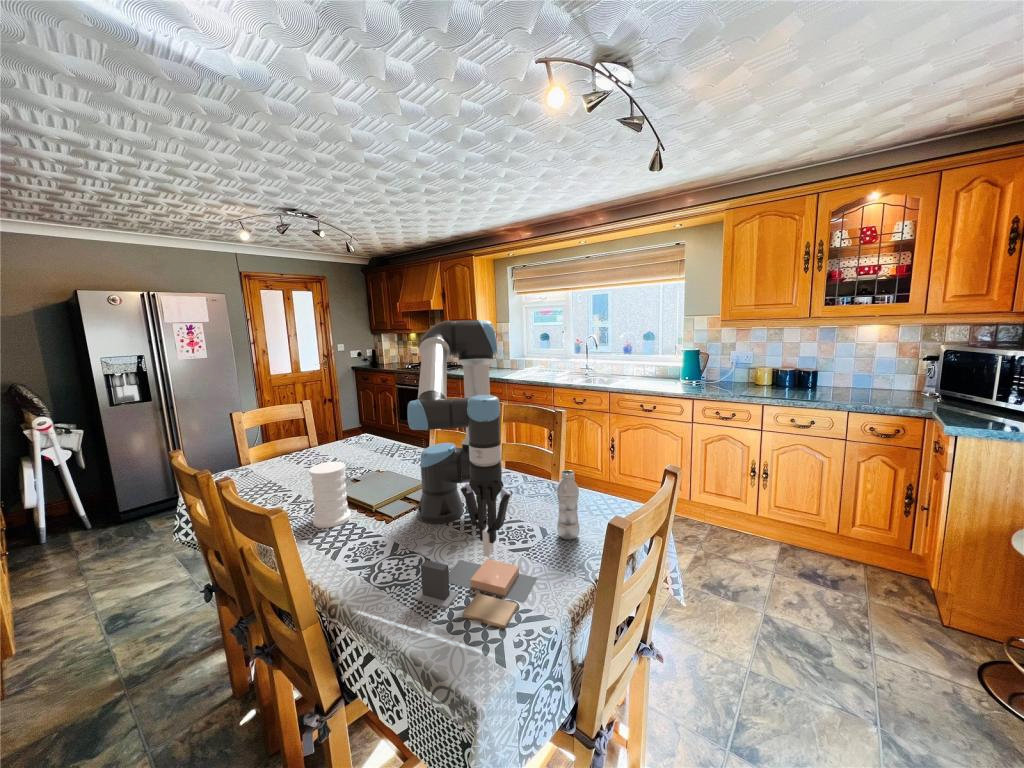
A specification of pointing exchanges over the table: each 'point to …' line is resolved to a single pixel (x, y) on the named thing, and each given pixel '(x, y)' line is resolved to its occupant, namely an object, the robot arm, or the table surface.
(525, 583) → the mat
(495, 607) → the board
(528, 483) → the table surface
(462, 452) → the robot arm
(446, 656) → the table surface
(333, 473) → the decorative container
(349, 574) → the table surface
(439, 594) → the grout float
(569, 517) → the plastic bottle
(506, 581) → the tile
